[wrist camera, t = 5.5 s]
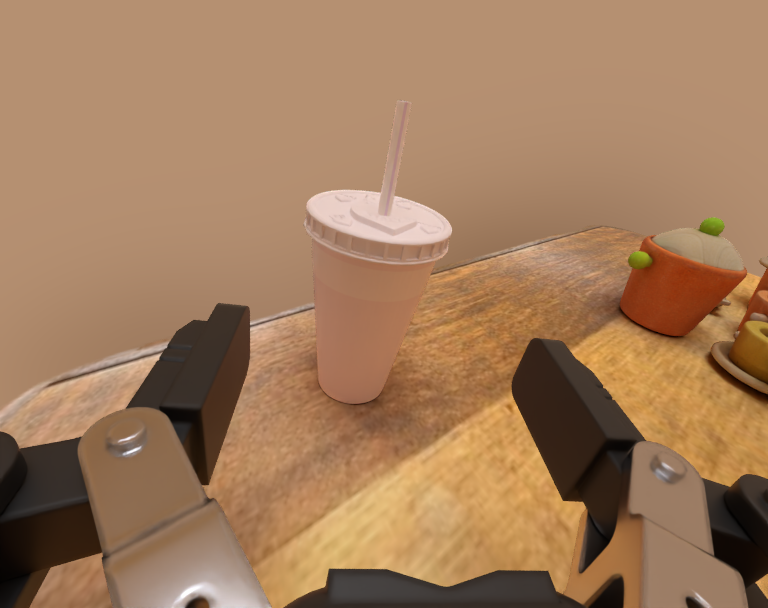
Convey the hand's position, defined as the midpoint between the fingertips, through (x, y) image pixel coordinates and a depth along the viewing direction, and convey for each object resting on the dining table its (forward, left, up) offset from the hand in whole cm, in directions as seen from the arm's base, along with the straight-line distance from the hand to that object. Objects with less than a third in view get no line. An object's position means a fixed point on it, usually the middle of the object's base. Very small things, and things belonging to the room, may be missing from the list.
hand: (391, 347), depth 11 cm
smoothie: (+3, +7, -8) cm, 11 cm away
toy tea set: (+41, +3, -8) cm, 42 cm away
